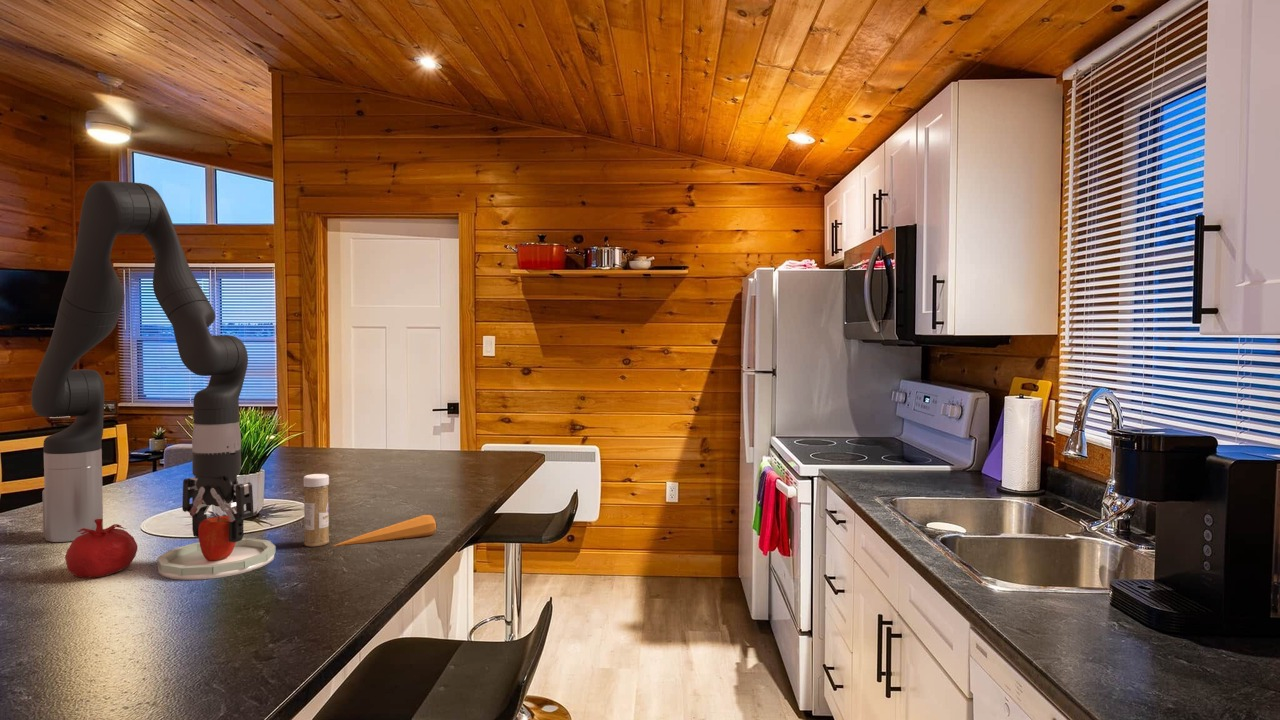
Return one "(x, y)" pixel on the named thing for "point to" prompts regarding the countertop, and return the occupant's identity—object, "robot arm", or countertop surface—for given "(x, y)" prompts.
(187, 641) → the countertop surface
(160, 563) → the dish
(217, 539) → the apple
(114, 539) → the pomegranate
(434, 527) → the carrot
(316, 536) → the spice jar
